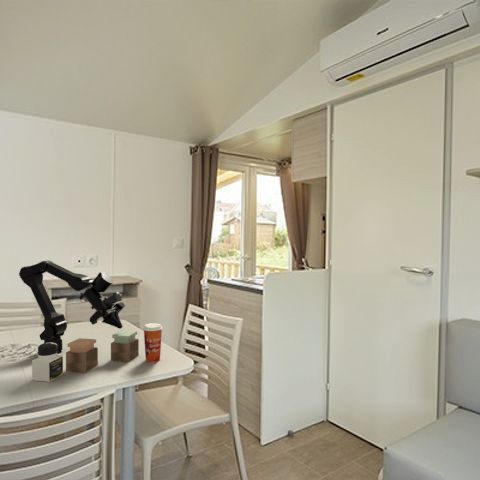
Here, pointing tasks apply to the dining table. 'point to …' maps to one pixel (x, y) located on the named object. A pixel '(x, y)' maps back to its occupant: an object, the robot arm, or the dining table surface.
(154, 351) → the paper cup
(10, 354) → the dining table surface
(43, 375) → the medicine bottle
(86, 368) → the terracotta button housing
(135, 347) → the block
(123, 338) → the sage button
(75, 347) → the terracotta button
